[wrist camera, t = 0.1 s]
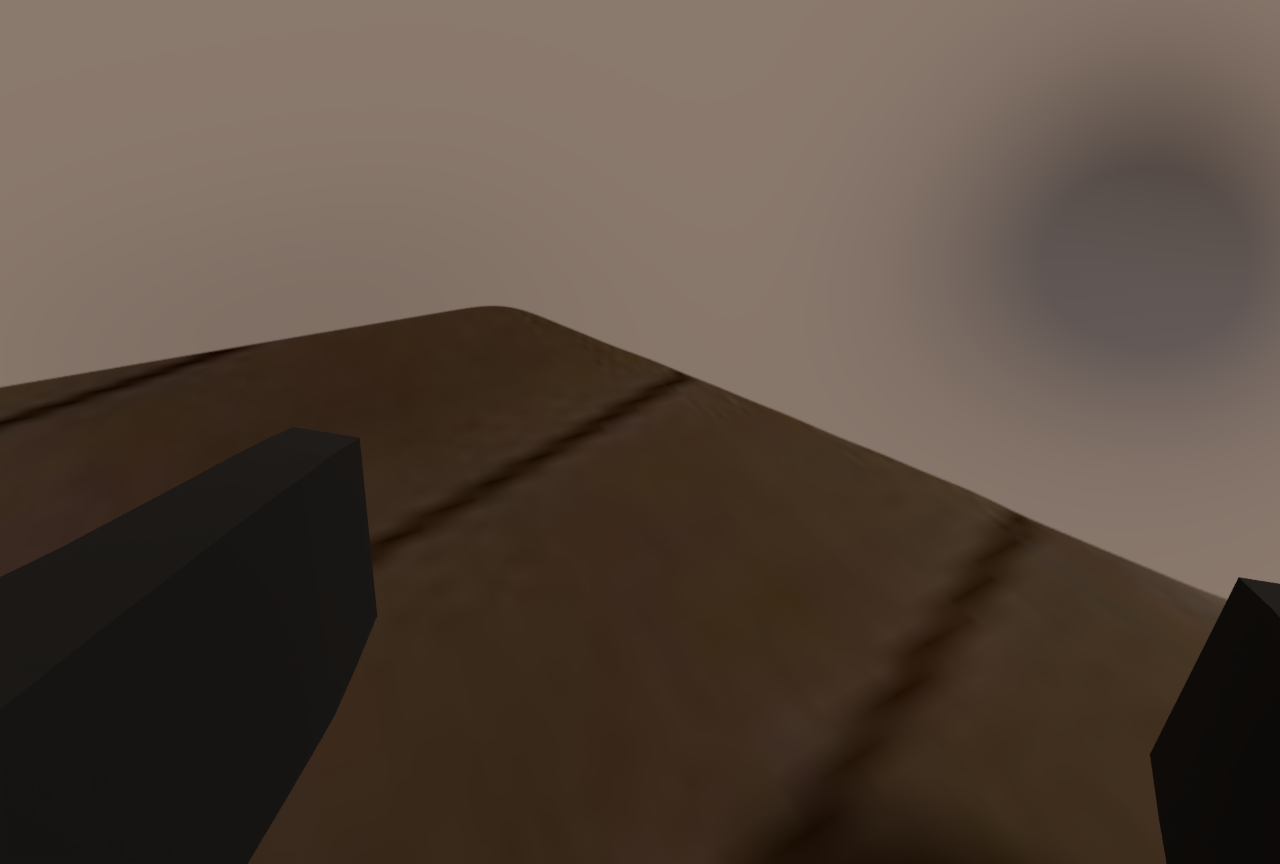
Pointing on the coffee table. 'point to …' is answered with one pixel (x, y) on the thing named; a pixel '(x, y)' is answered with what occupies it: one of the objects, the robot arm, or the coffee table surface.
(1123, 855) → the coffee table surface
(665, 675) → the coffee table surface
